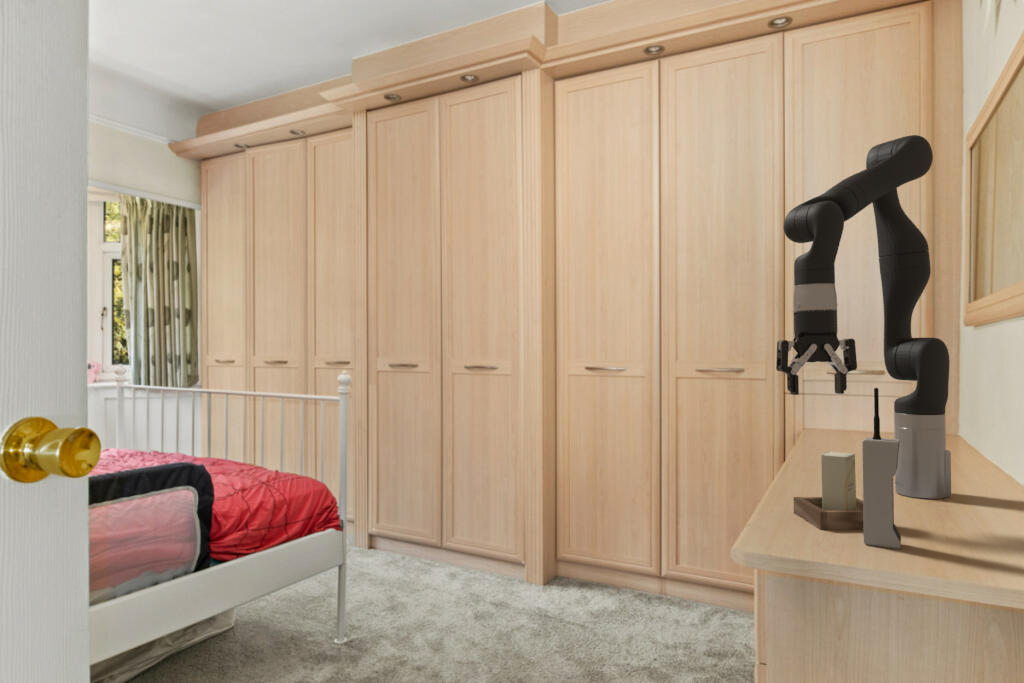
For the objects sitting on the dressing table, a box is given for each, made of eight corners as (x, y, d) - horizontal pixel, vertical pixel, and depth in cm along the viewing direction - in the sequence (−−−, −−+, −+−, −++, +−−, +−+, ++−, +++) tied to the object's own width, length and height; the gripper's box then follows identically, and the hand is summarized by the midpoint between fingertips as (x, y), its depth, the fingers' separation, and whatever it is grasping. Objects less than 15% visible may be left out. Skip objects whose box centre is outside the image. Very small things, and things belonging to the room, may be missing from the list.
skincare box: (848, 526, 114) (847, 457, 114) (821, 522, 117) (820, 454, 117) (857, 519, 119) (856, 452, 119) (831, 515, 122) (830, 450, 122)
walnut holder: (854, 512, 124) (854, 496, 124) (887, 529, 112) (887, 512, 112) (793, 512, 124) (793, 497, 124) (820, 529, 113) (820, 512, 113)
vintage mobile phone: (900, 550, 101) (897, 388, 101) (863, 544, 104) (861, 387, 104) (901, 543, 104) (899, 387, 104) (865, 539, 107) (863, 386, 107)
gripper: (842, 309, 128) (844, 392, 128) (769, 310, 128) (771, 393, 128) (863, 307, 120) (864, 395, 120) (785, 308, 120) (787, 396, 120)
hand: (816, 394), depth 124 cm, fingers open, 8 cm apart
